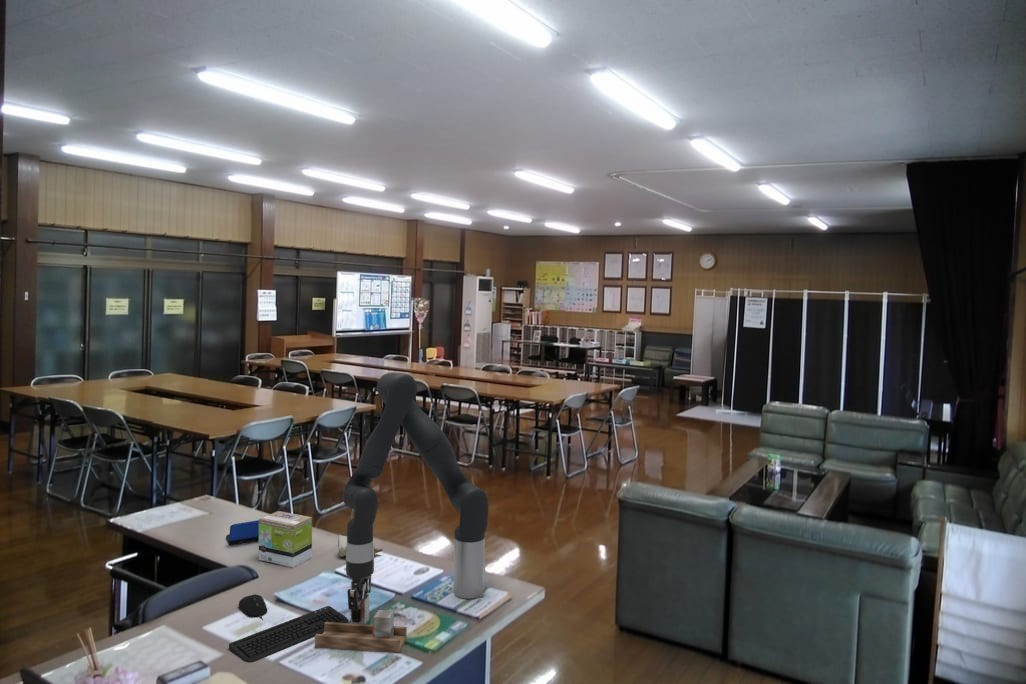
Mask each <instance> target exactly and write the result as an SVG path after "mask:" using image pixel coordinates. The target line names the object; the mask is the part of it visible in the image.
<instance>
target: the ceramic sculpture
mask: <svg viewBox="0 0 1026 684" xmlns="http://www.w3.org/2000/svg"><path fill="white" fill-rule="evenodd" d="M337 546H338V552H337V553H338V556H339V557H341V558H344V557H346V546H347V535H341V534H338V536H337ZM380 552H383V548H380V549H379V548H377V547H376V546H374V555H375V554H377V553H380Z"/></svg>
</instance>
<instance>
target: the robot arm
mask: <svg viewBox="0 0 1026 684" xmlns="http://www.w3.org/2000/svg"><path fill="white" fill-rule="evenodd" d="M376 388H377V389H376V390H377V394H378V397H379V399H380V400H381V401H382V403H384V409H383V413H382V415H381V417H380V420H378V423H377V425H376V427H375V428H374V429H373V431H372V432H371V434H370V435H369V437H368V439H367V440H366V443H365V444H364V447H363V450H362V452H361V455H360V459H359V462H358V465H357V467H356V468H355V470H354V471H353V473H352V474H351V476H350V478H349V479H348V481H347V482H346V484H345V486H344V489H343V493H342V501H343V504H344V505H345V506H346V507H347V508H349V509H351V510H353V511H354V516H353V518H351V519H349V520H348V522H347V525H346V526H347V527H346V536H347V546H346V556H345V574H346V576H347V577H349V578H351V582H350V588H348V589H347V605H348V606H347V607H348V610H350V611H351V610H352V622H360V620H361V601H362V600H363V599H364V594H369V595H370V593H371V592H372V590H371V589H372V575H373V573H374V572H375V554H374V524H375V519H376V517H377V516H376V515H377V512H378V507H379V498H378V495H377V492H376V490H374V489H373V488H371V487H370V485H371V483H372V482H373V480H374V479H375V480H376V479H379V478H380V477H381V476H382V474H383V472H384V469H385V466H386V463H387V459H388V458H389V454H390V452H391V449H392V446H393V444H394V441H395V439H396V436H397V434H398V431H399V430H400V428H401V427H402V428H403V429H404V431H405V433H406V434H407V437H408V438H409V439H410V441H411V443H412V444H413V446H414V447H415V449H416V450H417V452H418V454H419V456H420V457H421V458H422V460H423V461H424V463H425V464H426V465H427V467H428V468H429V470H430V471H431V472H432V474H433V475H434V476H435V477H436V478H437V479H438V481H439V482H440V484H441V486H442V488H443V489H444V491H445V494H446V495H447V497H448V499H449V501H450V503H451V505H452V507H453V508H454V509H455V510H456V511H457V512H458V513H459V525H457V526H456V527H455V529H454V535H453V536H454V539H453V542H454V543H453V545H454V547H453V548H454V550H453V555H454V556H453V595H454V596H456V597H457V596H458V598H460V599H465V600H466V599H469V600H473V599H476V598H483V596H484V594H485V590H486V559H485V549H486V548H485V539H486V538H485V537H486V534H485V533H486V532H487V528H488V523H489V521H488V520H489V497H488V495H487V492H485V490H483V489H481V487H479V486H476V485H475V484H474V483H473V482H471V481H470V479H468V477H467V476H466V475H465V473H464V472H463V471H462V469H461V468H460V466H459V463H458V461H457V457H456V454H455V450H454V448H453V445H452V444H451V442H450V440H449V439H448V437H447V435H446V433H444V431H443V429H441V427H440V426H439V425H438V424H437V423H436V422H435V421H434V420H433V419H432V418H431V417H430V416H429V415H428V414H427V413H425V411H423V410H422V409H421V408H420V406H419V404H417V402H416V400H415V398H416V396H417V393H418V385H417V381H416V380H415V378H414V376H412V375H410V374H408V373H403V372H388V373H384V374H382V375H381V376H380V377H379V379H378V381H377V385H376ZM358 595H361V596H360V597H358ZM354 603H355V604H354Z"/></svg>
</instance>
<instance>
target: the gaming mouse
mask: <svg viewBox="0 0 1026 684" xmlns="http://www.w3.org/2000/svg"><path fill="white" fill-rule="evenodd" d="M238 609H239V610H240V611H241V612H242V613H243V614H244V615H245V616H246V617H249V618H251V619H252V618H259V619H260V620H262V621H264V619H263V616H265V615H266V614H267V613H268V608H267V604H266V602H265V600H264V598H263V596H262V595H259V594H255V593H254V594H251V595H246V596H243V597H242V598H241V599H240V600H239V603H238Z"/></svg>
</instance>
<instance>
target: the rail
mask: <svg viewBox="0 0 1026 684" xmlns="http://www.w3.org/2000/svg"><path fill="white" fill-rule="evenodd" d="M394 620H395V611H394V610H388V609H386V610H385V609H378V611H377V612H375V613H374V616H372V624H367V623H366V624H352V623H351V622H348V623H336V622H325V624H324V632H323V633H322V634H316V635H315V637H314V648H320V649H321V648H322V649H323V648H324V649H338V650H339V649H341V650H353V651H354V650H355V651H368V652H369V651H370V652H371V651H372V652H385V653H400V652H401V650H402V648H403V646H404V643H405V642H406V639H408V638H407V631H408V628H407V626H398V625H394V623H395V621H394Z"/></svg>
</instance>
